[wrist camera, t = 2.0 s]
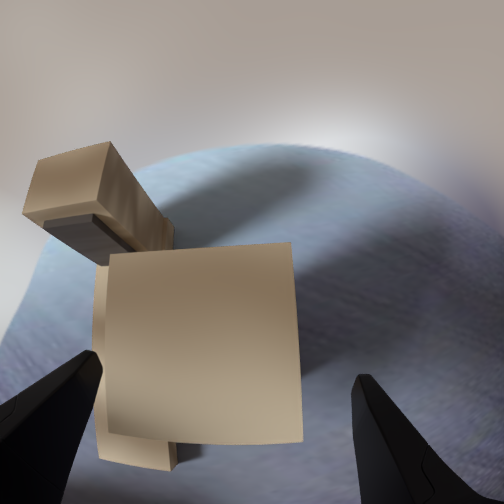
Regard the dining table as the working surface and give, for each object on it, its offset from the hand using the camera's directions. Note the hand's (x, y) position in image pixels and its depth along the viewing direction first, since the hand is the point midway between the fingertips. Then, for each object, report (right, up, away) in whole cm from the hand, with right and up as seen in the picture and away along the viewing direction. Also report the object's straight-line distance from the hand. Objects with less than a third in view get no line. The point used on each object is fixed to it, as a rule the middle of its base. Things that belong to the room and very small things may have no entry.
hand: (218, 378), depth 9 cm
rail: (-6, -2, +9) cm, 11 cm away
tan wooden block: (+1, -2, +8) cm, 9 cm away
